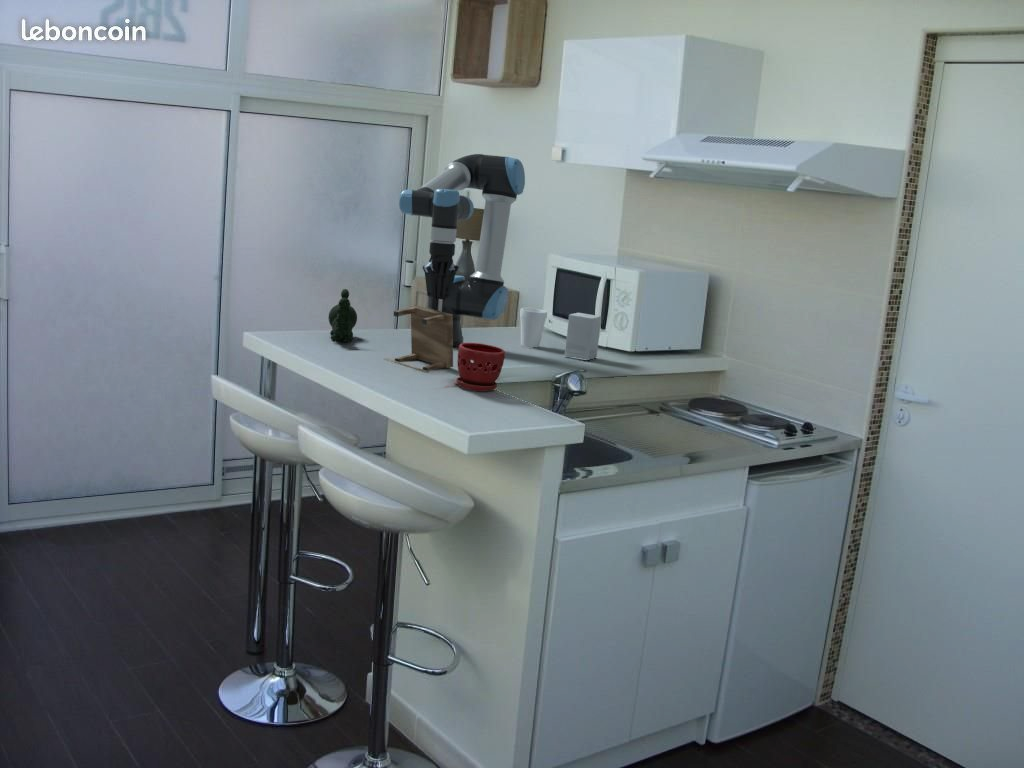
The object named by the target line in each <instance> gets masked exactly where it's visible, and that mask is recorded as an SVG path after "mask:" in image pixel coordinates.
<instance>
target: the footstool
mask: <svg viewBox="0 0 1024 768" xmlns="http://www.w3.org/2000/svg"><path fill="white" fill-rule="evenodd" d="M406 315H410V326H411V327H410V330H411V331H410V332H411V333H410V336H411V337H410V340H411V341H410V342H411V353H410V354H406V355H403V356H399V357H395V358H394V361H397V362H408V361H414V360H420V361H423V362H426V363H429V365H426V366H425V365H424V366H422V369H423V370H426V371H432V370H440V369H444V368H445V369H450V368H453V367H454V347H453V315H452V314H449V313H445V312H441V311H437V310H433V309H429V308H427V307H424V306H420V305H412V306H410V307H408V308H403V309H399V310H398V309H397V310H394V311H393V317H397V318H398V317H402V316H406Z"/></svg>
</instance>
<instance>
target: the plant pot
mask: <svg viewBox="0 0 1024 768" xmlns="http://www.w3.org/2000/svg"><path fill="white" fill-rule="evenodd" d="M505 355H506V352H505V350H504V349H503V348H500V347H497V346H495V345H494V346H493V345H490V344H484V343H477V342H463V343H462V344H460V345H459V346H458V351H457V362H456V363H457V370H458V374H459V377H457V378H456V383H457V385H458V386H459V387H460V388H463V389H465V390H469V391H473V392H491V391H493V390H495V389H496V388H497V387H498V383H497V380H498V379H499V377H500V375H501V372H502V370H503V366H504V361H505V357H506V356H505ZM471 361H472V362H471Z"/></svg>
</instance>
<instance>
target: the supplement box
mask: <svg viewBox="0 0 1024 768" xmlns="http://www.w3.org/2000/svg"><path fill="white" fill-rule="evenodd" d="M601 324H602V315H601V316H600V315H596V314H595V315H594V314H591V313H589V314H588V313H583V312H576V313H575V312H574V313H570V314H568V322H567V329H566V330H567V331H566V341H565V348H564V356H567V357H576V358H582V359H586V360H590V359H593V358H596V357H597V358H598V350H599V342H600V341H599V340H600V332H601ZM597 358H596V359H597ZM593 360H594V359H593ZM590 361H591V360H590Z"/></svg>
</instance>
